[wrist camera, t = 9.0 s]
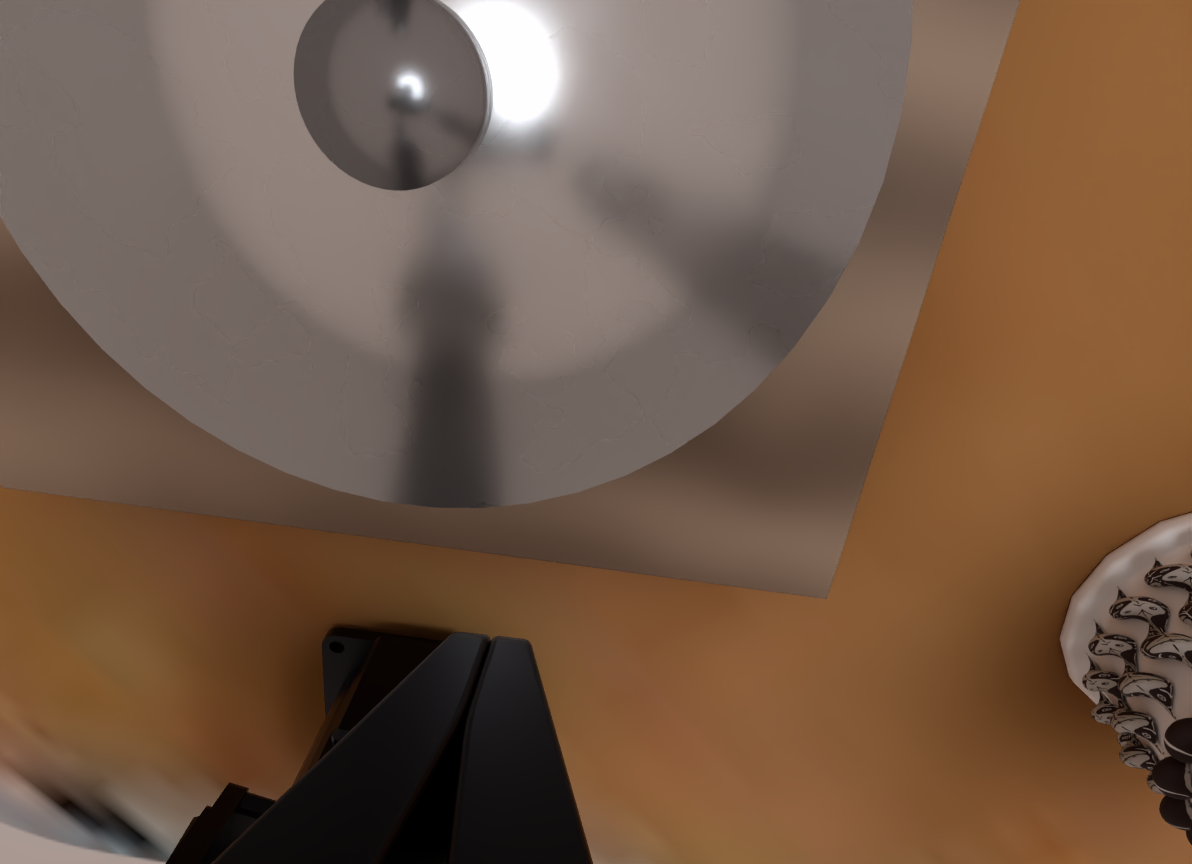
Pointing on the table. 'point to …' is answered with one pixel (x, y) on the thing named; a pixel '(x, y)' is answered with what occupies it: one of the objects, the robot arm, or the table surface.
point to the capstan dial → (447, 217)
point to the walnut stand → (613, 509)
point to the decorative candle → (1141, 656)
